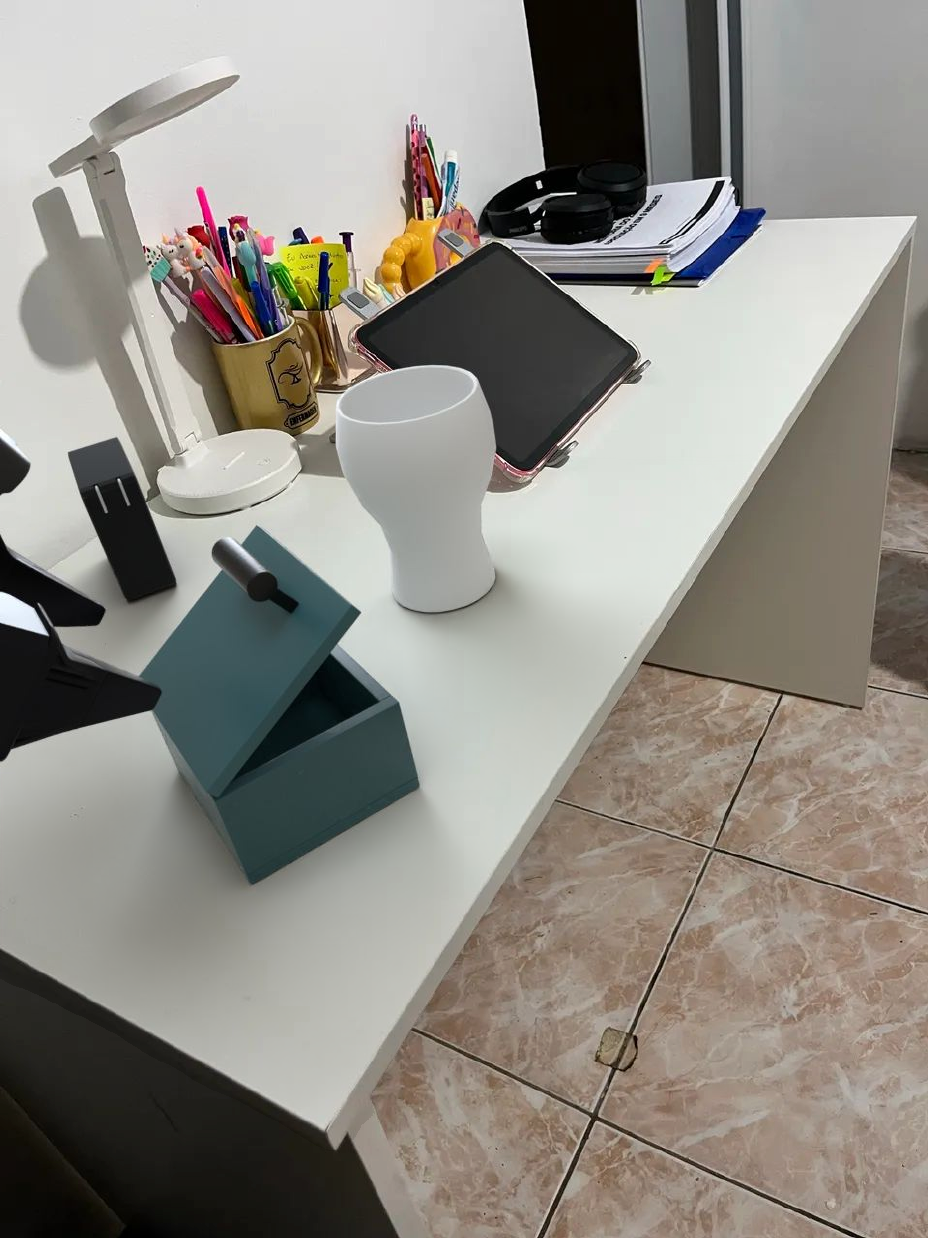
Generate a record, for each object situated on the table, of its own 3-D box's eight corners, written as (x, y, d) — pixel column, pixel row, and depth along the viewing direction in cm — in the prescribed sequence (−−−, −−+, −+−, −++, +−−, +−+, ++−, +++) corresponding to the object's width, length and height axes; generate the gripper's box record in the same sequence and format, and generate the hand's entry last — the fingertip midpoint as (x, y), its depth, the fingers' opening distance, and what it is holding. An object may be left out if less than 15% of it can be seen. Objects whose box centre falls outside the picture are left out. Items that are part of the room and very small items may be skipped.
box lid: (266, 530, 55) (214, 493, 52) (362, 612, 46) (306, 572, 44) (144, 687, 55) (86, 658, 52) (218, 798, 46) (152, 770, 43)
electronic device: (157, 537, 84) (116, 433, 78) (179, 587, 76) (136, 475, 70) (110, 553, 83) (65, 449, 77) (127, 605, 75) (79, 494, 69)
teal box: (328, 691, 62) (305, 612, 59) (420, 786, 54) (399, 702, 50) (177, 769, 58) (141, 690, 54) (251, 886, 50) (214, 802, 46)
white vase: (489, 631, 65) (455, 428, 56) (350, 619, 69) (298, 428, 60) (531, 548, 73) (507, 359, 64) (404, 542, 76) (365, 363, 68)
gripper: (-148, 425, 28) (280, 584, 39) (-183, 314, 42) (141, 454, 52) (-289, 744, 30) (161, 813, 40) (-278, 537, 43) (56, 629, 54)
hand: (127, 654), depth 47 cm, fingers open, 9 cm apart
